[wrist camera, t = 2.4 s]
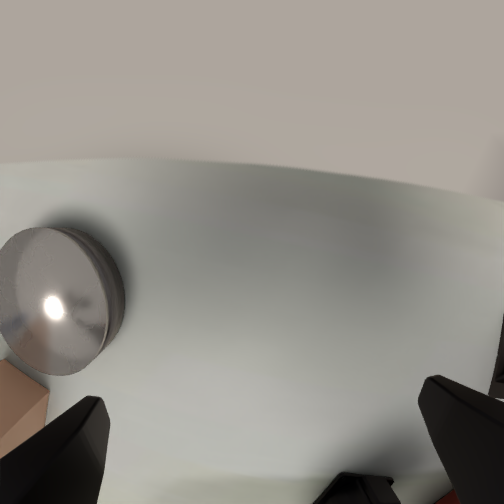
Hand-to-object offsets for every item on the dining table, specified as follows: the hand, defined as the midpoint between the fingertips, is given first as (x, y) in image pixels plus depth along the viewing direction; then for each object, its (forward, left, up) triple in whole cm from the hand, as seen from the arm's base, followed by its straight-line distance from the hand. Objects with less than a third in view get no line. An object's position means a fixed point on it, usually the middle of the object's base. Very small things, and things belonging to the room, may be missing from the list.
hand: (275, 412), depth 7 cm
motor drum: (-5, +11, -12) cm, 18 cm away
